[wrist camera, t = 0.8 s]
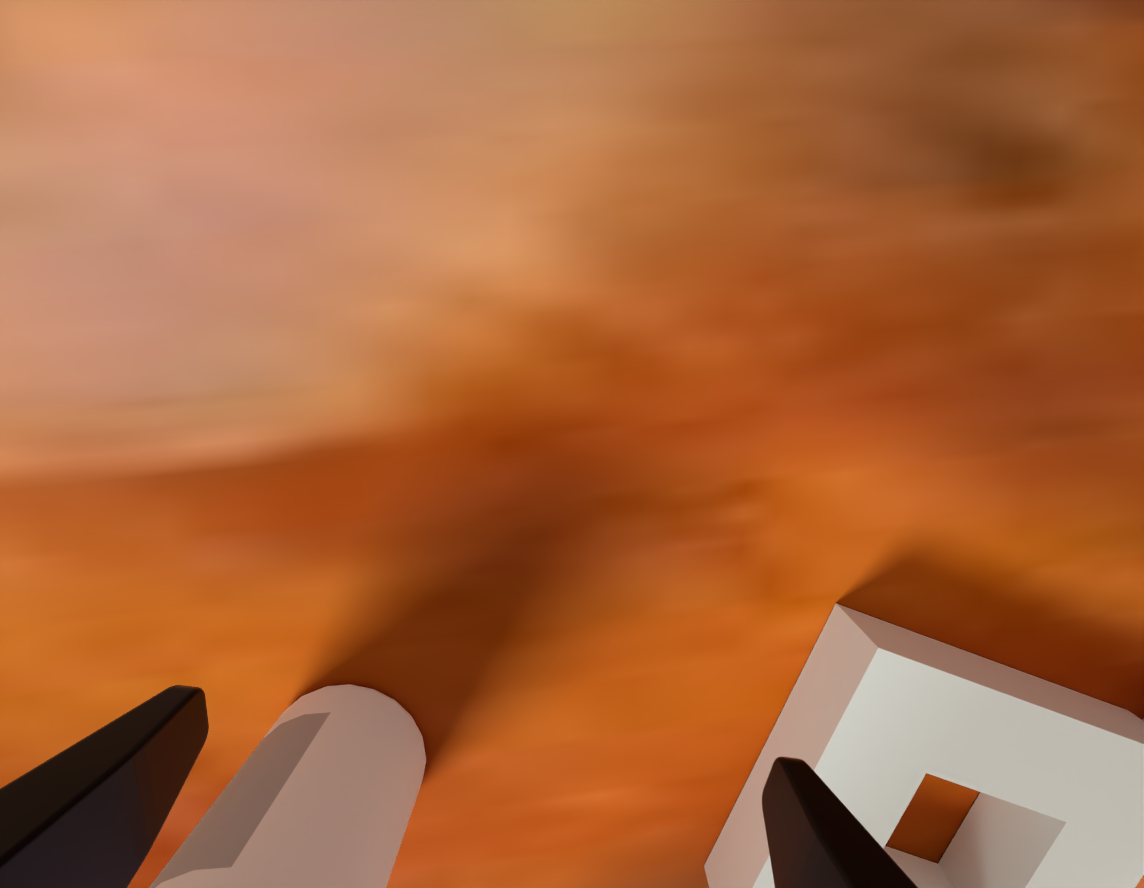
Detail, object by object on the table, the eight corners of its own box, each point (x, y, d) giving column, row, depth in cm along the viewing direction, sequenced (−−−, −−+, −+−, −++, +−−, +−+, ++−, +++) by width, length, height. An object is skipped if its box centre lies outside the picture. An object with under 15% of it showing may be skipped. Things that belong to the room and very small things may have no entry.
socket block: (973, 955, 28) (1029, 1042, 24) (704, 866, 27) (722, 944, 24) (1127, 710, 25) (1214, 769, 22) (835, 603, 24) (878, 647, 21)
